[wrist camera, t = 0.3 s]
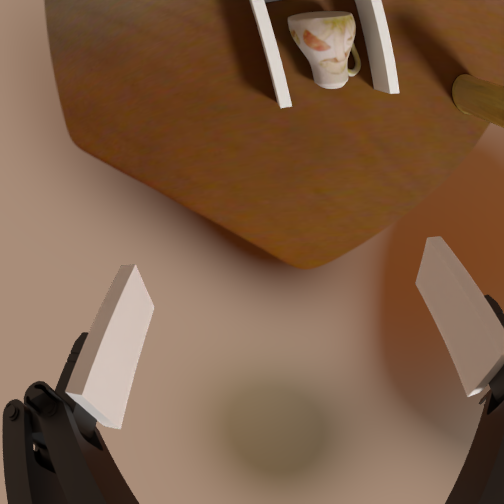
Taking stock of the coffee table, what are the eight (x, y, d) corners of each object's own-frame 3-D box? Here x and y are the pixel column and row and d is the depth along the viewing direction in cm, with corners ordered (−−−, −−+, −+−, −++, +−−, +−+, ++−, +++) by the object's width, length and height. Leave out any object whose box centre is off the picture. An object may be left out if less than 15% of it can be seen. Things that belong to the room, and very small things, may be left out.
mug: (304, 97, 32) (287, 63, 23) (297, 34, 31) (279, -9, 21) (365, 95, 30) (370, 59, 20) (354, 31, 28) (351, -14, 19)
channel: (240, -28, 22) (238, -41, 18) (351, -38, 20) (364, -50, 16) (277, 102, 32) (280, 108, 28) (382, 88, 30) (399, 93, 26)
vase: (454, 67, 27) (526, 84, 15) (483, 82, 27) (552, 106, 16) (448, 106, 30) (516, 136, 19) (476, 119, 31) (542, 152, 19)
